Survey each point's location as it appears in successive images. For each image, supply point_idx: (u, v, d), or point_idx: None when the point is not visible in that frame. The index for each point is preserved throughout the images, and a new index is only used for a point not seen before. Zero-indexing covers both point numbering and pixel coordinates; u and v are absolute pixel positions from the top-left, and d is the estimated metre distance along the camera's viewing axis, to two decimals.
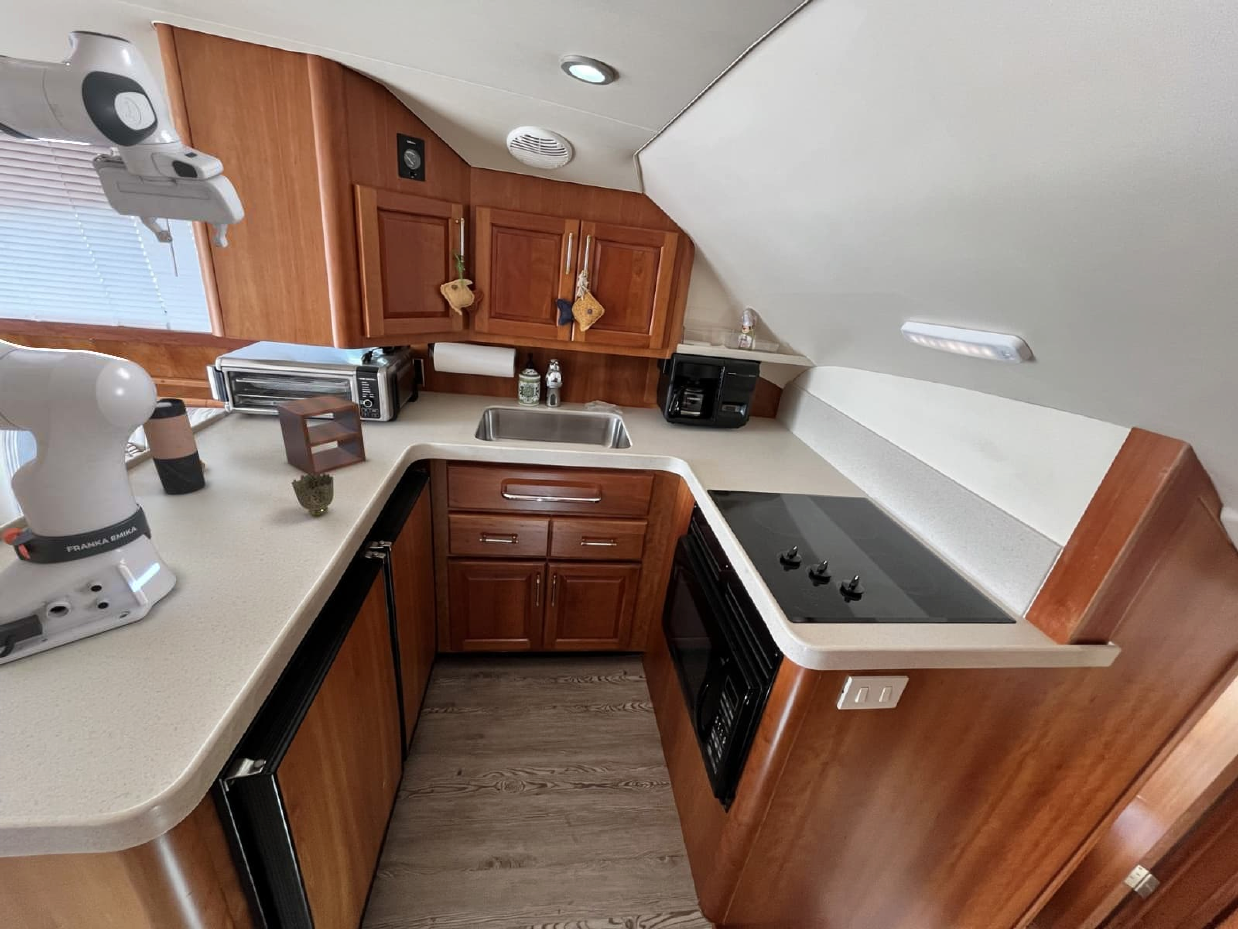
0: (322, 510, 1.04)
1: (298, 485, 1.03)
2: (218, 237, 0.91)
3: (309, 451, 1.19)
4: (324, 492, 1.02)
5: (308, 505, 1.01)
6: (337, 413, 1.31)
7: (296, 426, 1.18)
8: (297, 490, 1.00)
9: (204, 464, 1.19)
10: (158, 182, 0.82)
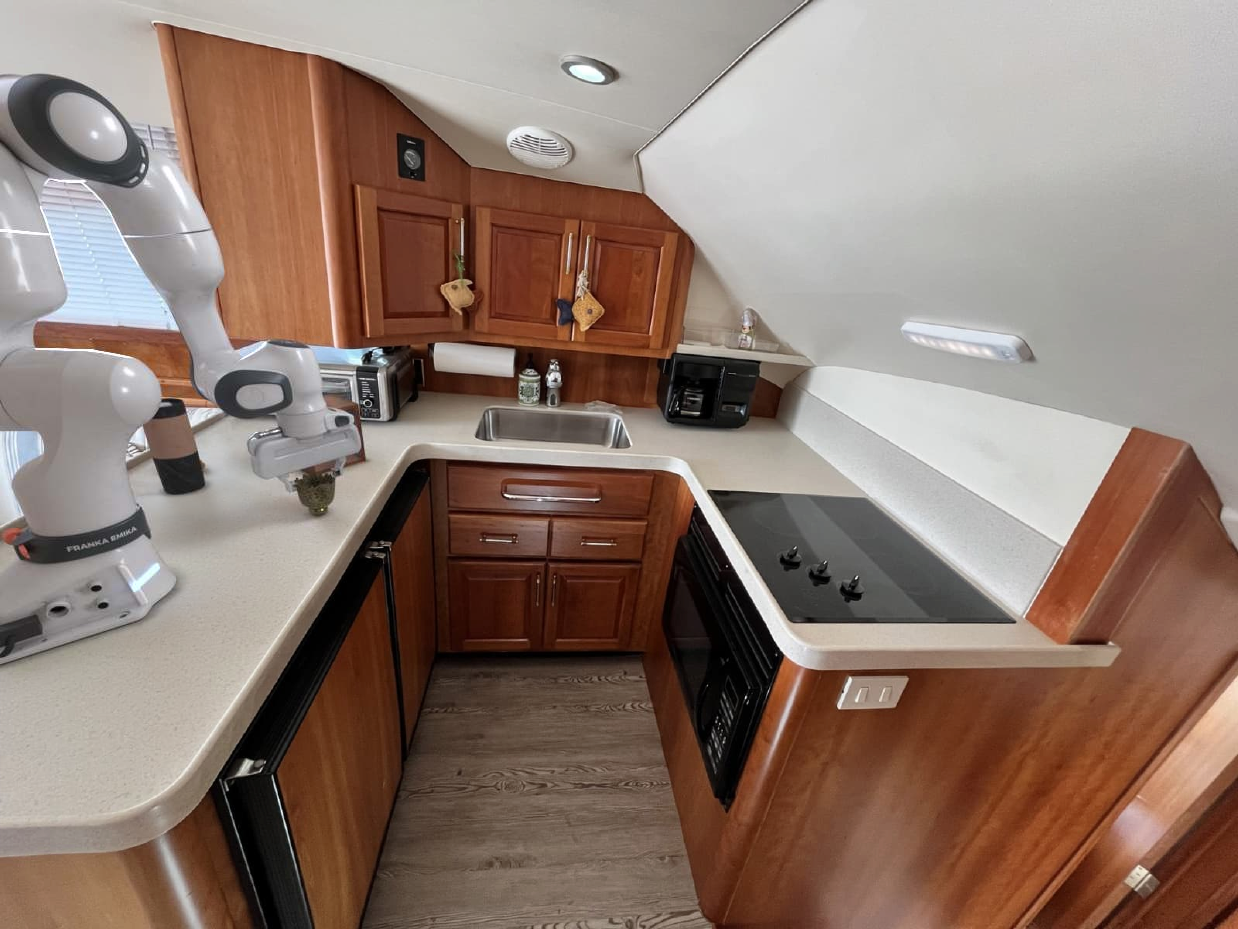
0: (322, 509, 1.04)
1: (300, 483, 1.04)
2: (341, 468, 1.07)
3: None
4: (325, 491, 1.02)
5: (309, 503, 1.01)
6: None
7: None
8: (299, 488, 1.00)
9: (204, 464, 1.19)
10: (318, 437, 0.98)
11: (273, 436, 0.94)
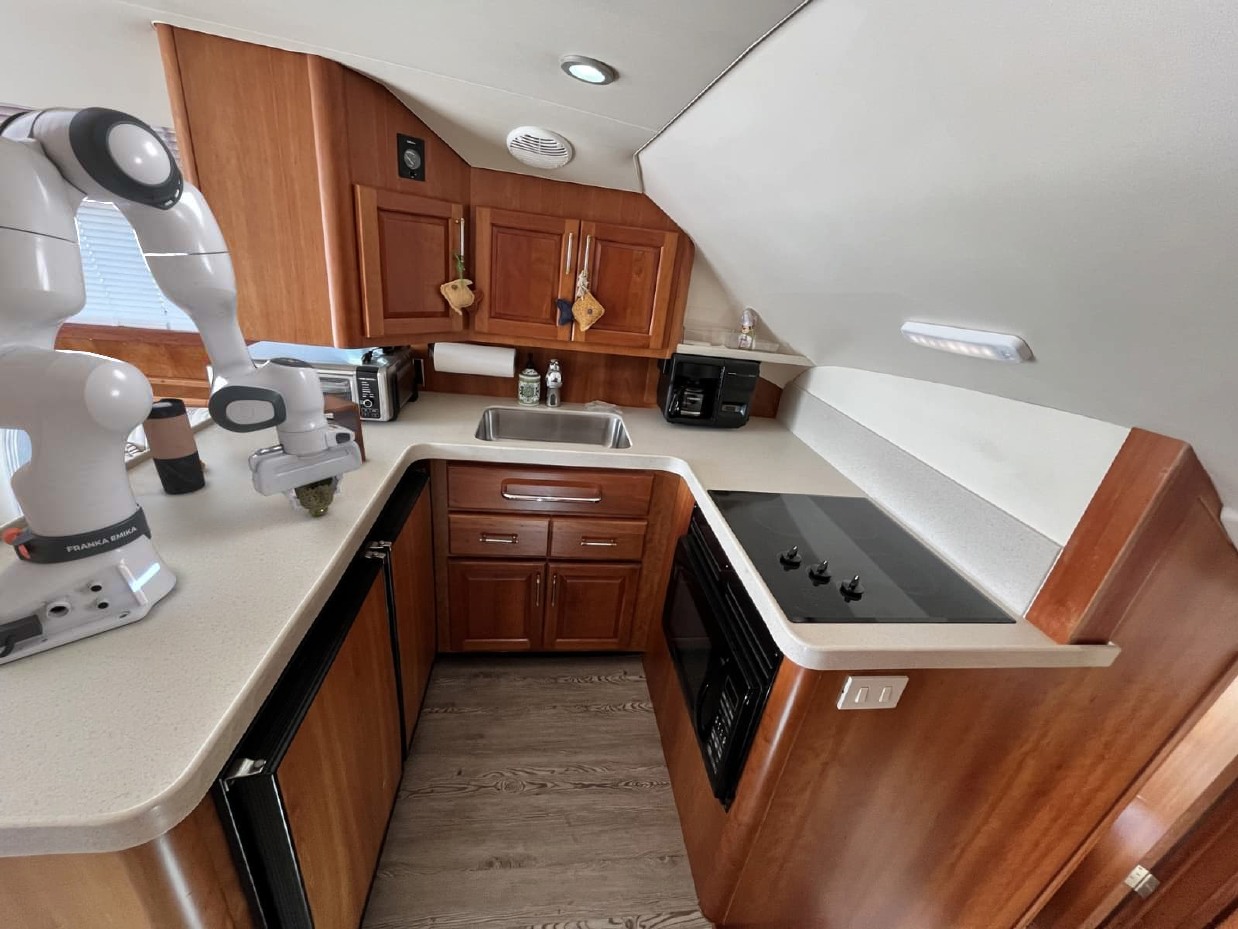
0: (322, 510, 1.04)
1: None
2: (338, 485, 1.07)
3: None
4: (324, 492, 1.02)
5: (309, 505, 1.01)
6: (337, 413, 1.31)
7: None
8: (297, 491, 1.00)
9: (204, 464, 1.19)
10: (318, 454, 0.99)
11: (274, 453, 0.95)
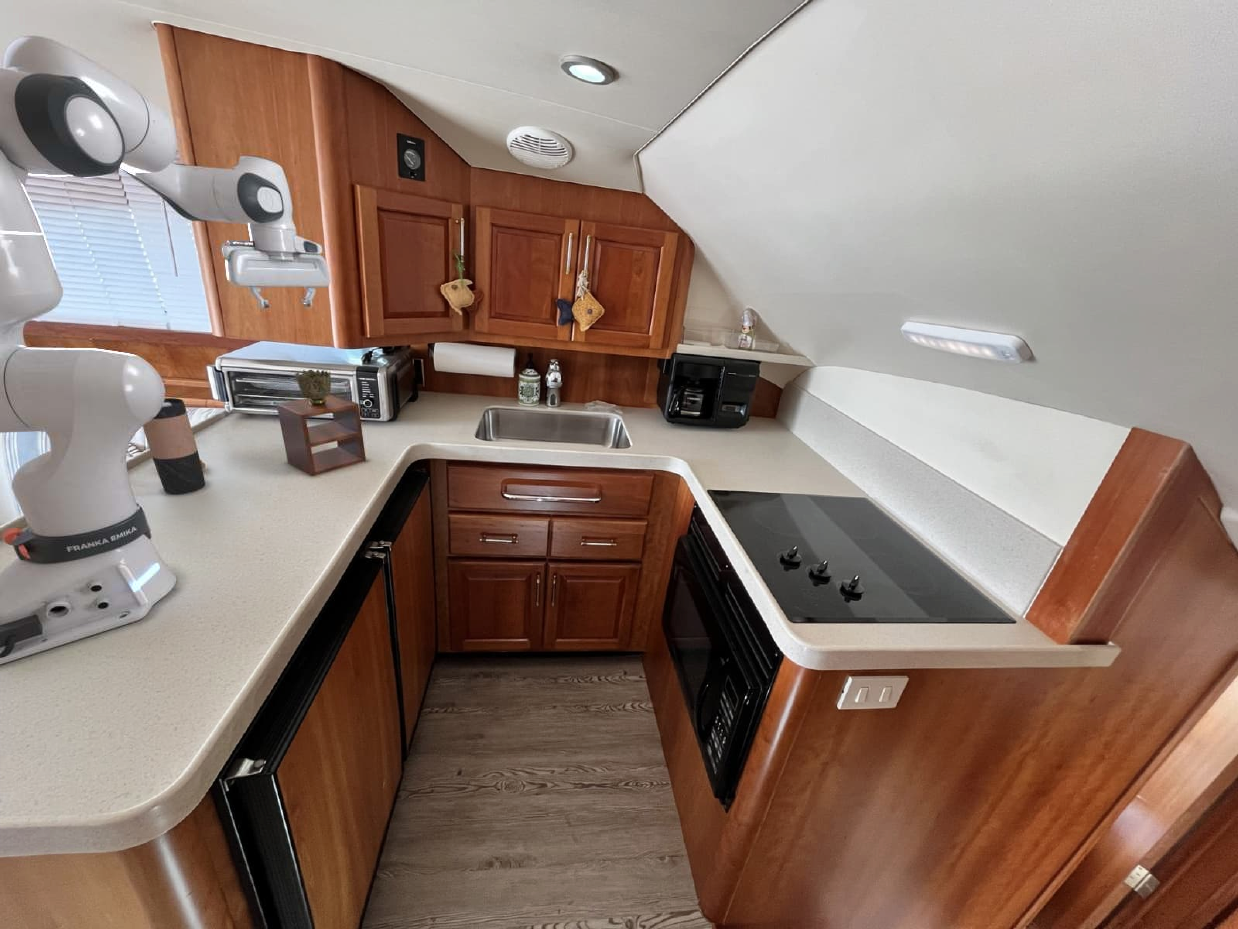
0: (321, 400, 1.22)
1: None
2: (311, 298, 1.17)
3: (309, 451, 1.19)
4: (322, 383, 1.19)
5: (309, 393, 1.19)
6: (337, 413, 1.31)
7: (296, 426, 1.18)
8: (299, 379, 1.17)
9: (204, 464, 1.19)
10: (287, 257, 1.09)
11: (246, 247, 1.05)
